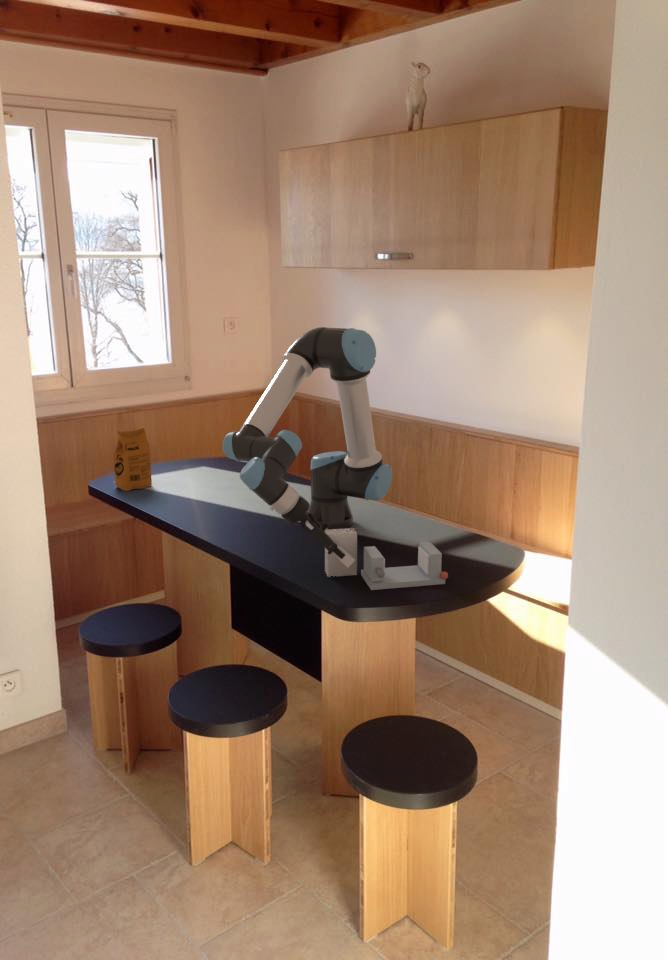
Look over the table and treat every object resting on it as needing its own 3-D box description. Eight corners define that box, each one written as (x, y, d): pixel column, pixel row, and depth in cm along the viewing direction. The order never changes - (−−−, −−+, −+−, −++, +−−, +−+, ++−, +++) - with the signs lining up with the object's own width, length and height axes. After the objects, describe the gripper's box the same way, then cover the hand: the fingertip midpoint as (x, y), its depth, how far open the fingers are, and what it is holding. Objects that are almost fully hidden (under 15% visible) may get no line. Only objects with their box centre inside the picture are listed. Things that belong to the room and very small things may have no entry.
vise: (360, 574, 231) (361, 545, 229) (433, 569, 235) (434, 540, 233) (372, 591, 219) (372, 561, 217) (448, 585, 223) (449, 555, 221)
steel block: (324, 571, 233) (324, 529, 230) (353, 569, 235) (353, 527, 232) (327, 577, 229) (327, 534, 226) (356, 574, 231) (357, 532, 228)
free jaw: (363, 569, 230) (363, 546, 228) (376, 568, 230) (376, 545, 229) (376, 587, 217) (376, 563, 216) (389, 586, 218) (389, 562, 216)
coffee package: (112, 487, 319) (108, 429, 313) (142, 481, 327) (139, 424, 321) (124, 492, 312) (120, 433, 306) (155, 486, 319) (151, 428, 314)
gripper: (273, 502, 236) (326, 550, 243) (287, 529, 212) (346, 581, 219) (292, 482, 236) (345, 530, 243) (308, 507, 212) (366, 560, 219)
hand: (345, 555), depth 231 cm, fingers open, 13 cm apart
